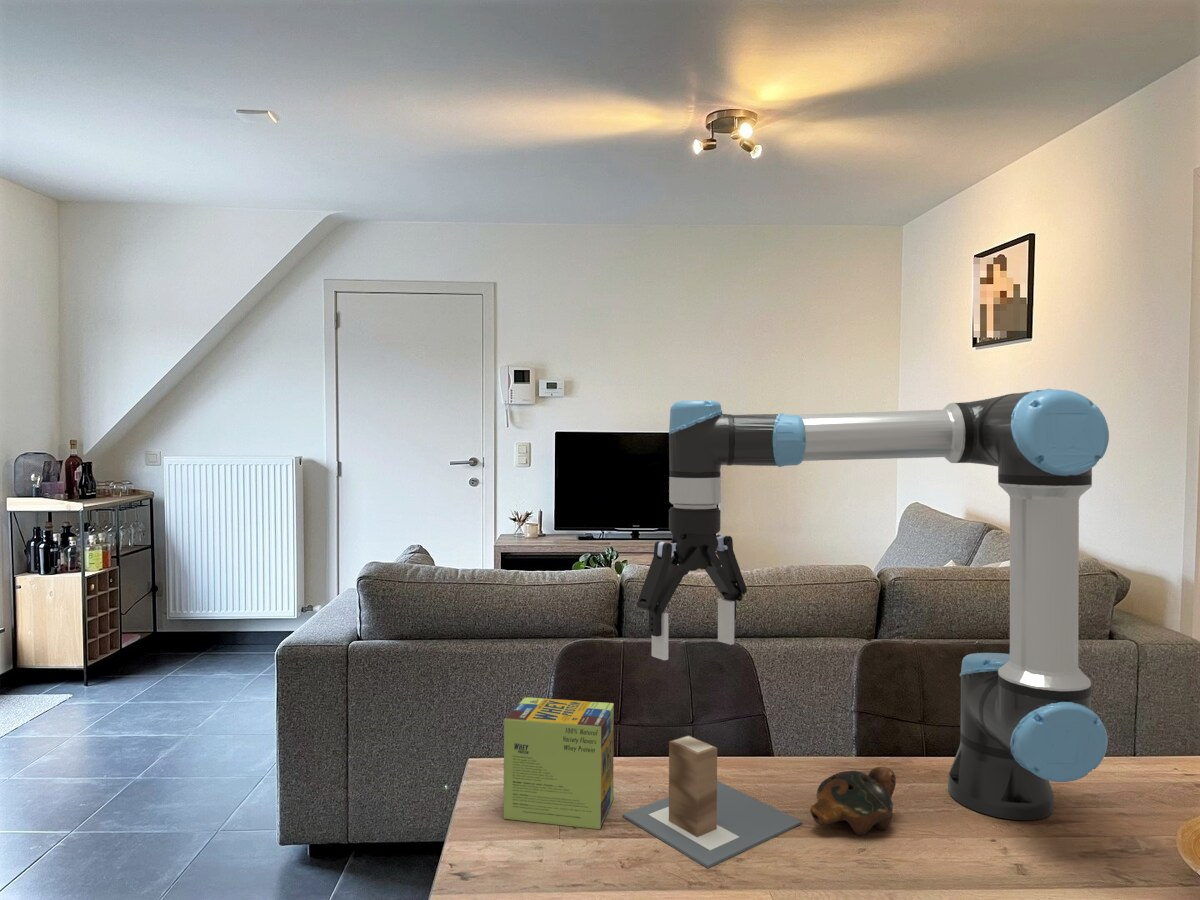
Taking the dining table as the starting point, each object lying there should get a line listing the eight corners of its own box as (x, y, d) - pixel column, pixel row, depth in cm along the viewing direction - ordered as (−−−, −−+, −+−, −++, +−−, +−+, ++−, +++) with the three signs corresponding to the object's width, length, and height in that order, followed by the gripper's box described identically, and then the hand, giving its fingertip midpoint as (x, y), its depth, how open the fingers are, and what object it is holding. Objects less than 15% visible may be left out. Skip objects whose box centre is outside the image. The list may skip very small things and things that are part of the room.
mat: (802, 823, 118) (802, 820, 118) (707, 868, 106) (707, 865, 106) (714, 781, 132) (714, 779, 132) (622, 816, 120) (622, 813, 120)
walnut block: (716, 829, 116) (717, 747, 115) (697, 837, 113) (697, 753, 113) (688, 813, 120) (688, 734, 120) (668, 821, 118) (669, 740, 118)
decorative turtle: (916, 826, 118) (917, 774, 117) (843, 859, 110) (843, 804, 110) (865, 796, 126) (865, 748, 125) (794, 825, 119) (794, 774, 118)
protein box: (602, 830, 116) (602, 725, 116) (502, 820, 119) (502, 718, 119) (615, 798, 126) (615, 702, 126) (522, 789, 129) (522, 695, 129)
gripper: (733, 499, 126) (733, 632, 127) (612, 508, 111) (612, 658, 112) (770, 503, 120) (769, 641, 121) (647, 513, 105) (647, 671, 106)
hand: (694, 650), depth 116 cm, fingers open, 13 cm apart
